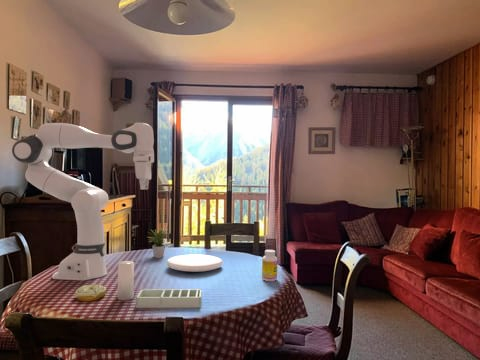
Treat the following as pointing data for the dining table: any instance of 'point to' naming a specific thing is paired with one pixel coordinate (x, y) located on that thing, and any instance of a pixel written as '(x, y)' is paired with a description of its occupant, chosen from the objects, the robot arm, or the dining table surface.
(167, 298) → the rack
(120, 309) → the dining table surface
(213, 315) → the dining table surface
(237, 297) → the dining table surface
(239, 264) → the dining table surface
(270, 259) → the supplement bottle
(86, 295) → the decorated donut
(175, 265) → the plate
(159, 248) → the house plant
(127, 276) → the beige tall cylinder
